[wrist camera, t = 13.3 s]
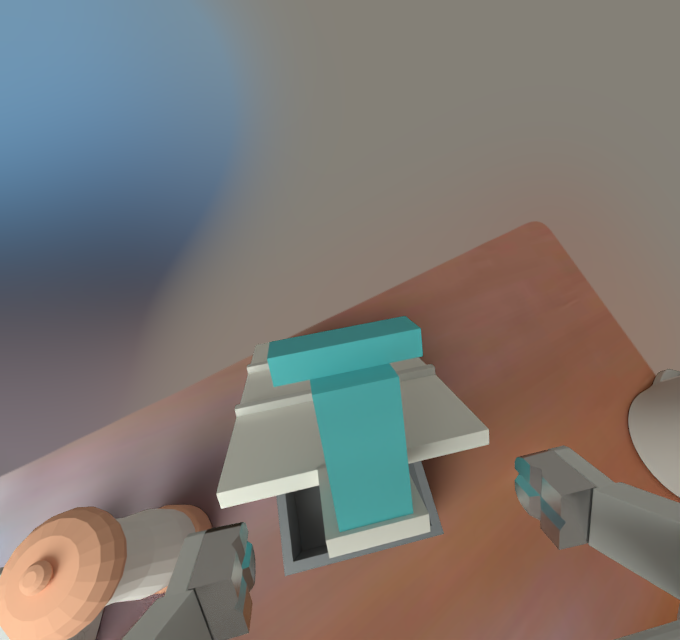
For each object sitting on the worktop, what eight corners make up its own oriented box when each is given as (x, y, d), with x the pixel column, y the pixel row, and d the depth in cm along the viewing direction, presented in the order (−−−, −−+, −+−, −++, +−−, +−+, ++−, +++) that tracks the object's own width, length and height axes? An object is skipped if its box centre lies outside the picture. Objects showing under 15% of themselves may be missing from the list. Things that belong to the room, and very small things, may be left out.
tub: (375, 360, 45) (381, 334, 38) (423, 527, 35) (443, 533, 29) (274, 381, 44) (261, 358, 37) (296, 561, 34) (284, 576, 27)
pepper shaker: (146, 512, 36) (-19, 519, 20) (212, 498, 37) (107, 493, 20) (140, 594, 33) (-69, 688, 16) (213, 577, 33) (85, 649, 17)
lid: (383, 328, 38) (375, 254, 36) (541, 502, 14) (551, 317, 12) (257, 353, 37) (239, 277, 34) (201, 592, 13) (125, 403, 10)
